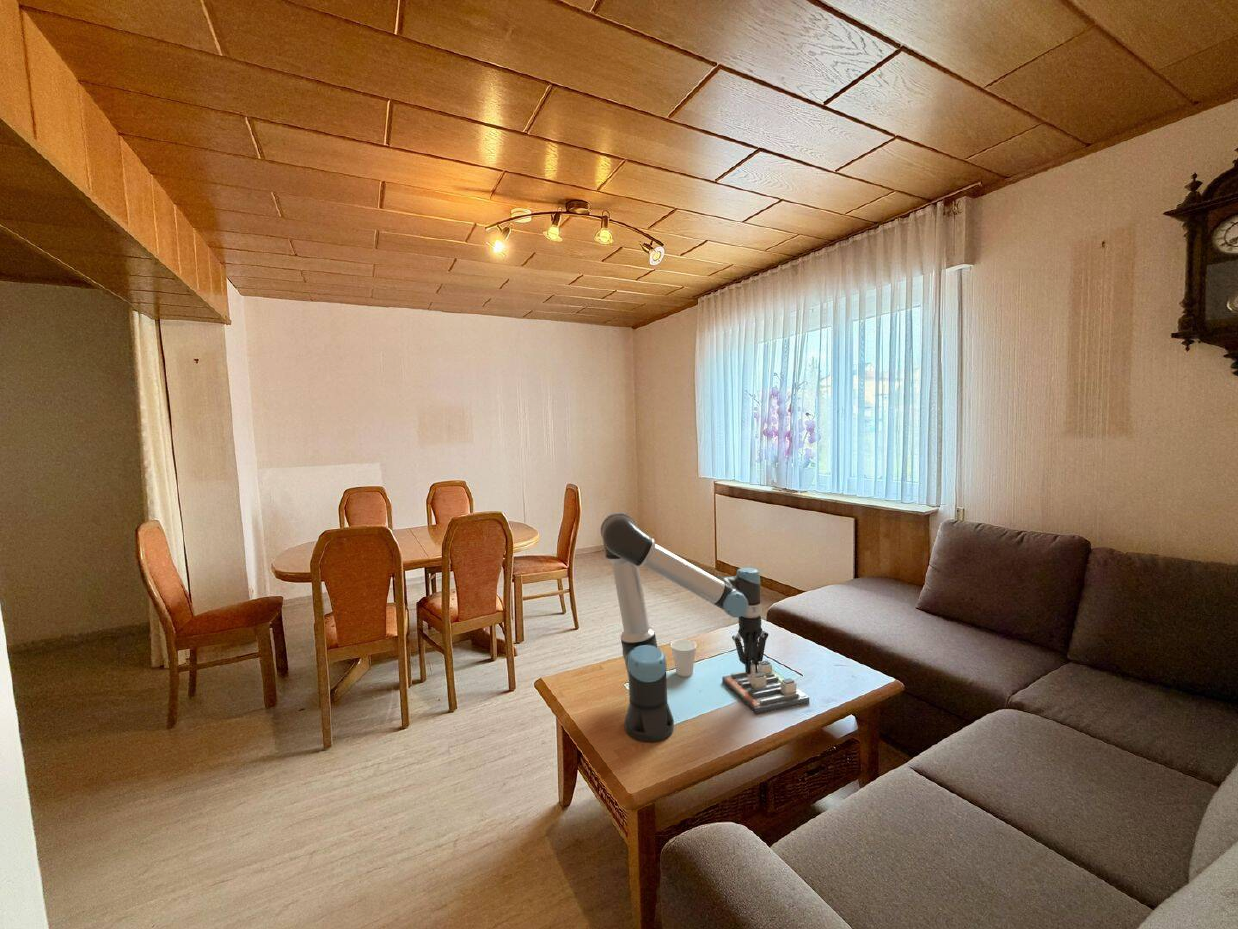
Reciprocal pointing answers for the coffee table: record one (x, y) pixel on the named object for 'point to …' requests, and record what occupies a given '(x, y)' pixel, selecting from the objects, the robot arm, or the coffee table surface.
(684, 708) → the coffee table surface
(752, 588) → the robot arm
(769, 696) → the panel
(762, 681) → the block
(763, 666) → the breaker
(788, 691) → the block
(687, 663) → the cup
